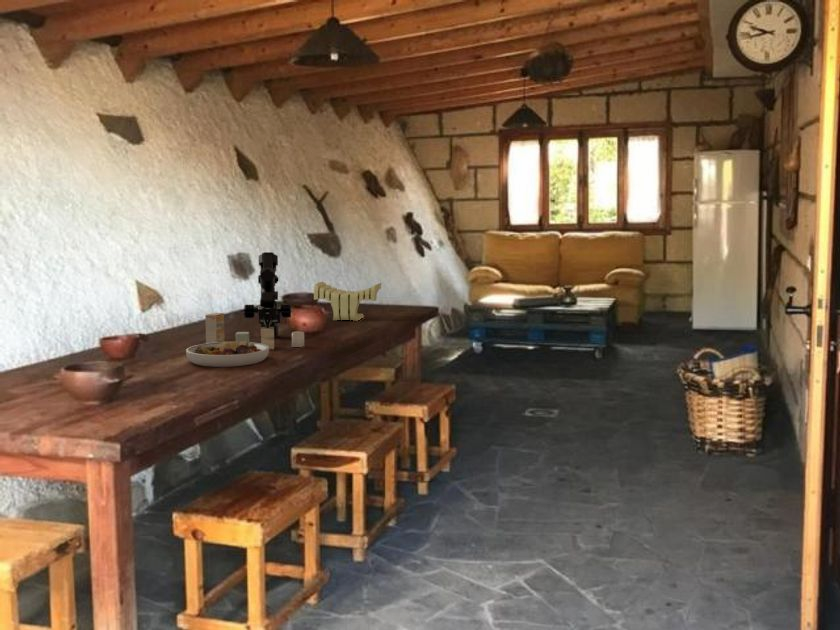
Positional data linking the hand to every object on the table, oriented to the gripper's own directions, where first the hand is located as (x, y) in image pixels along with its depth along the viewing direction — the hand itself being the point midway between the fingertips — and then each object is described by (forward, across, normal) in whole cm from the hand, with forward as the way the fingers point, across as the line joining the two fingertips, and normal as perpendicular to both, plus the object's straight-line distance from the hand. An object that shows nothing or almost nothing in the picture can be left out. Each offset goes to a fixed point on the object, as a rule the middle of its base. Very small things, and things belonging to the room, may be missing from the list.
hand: (267, 327), depth 362 cm
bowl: (+25, -14, -11) cm, 30 cm away
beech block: (+6, 0, +6) cm, 8 cm away
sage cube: (-1, -10, +13) cm, 17 cm away
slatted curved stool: (-52, +37, +62) cm, 89 cm away
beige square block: (+5, +12, +7) cm, 15 cm away
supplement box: (-1, -21, +13) cm, 25 cm away
